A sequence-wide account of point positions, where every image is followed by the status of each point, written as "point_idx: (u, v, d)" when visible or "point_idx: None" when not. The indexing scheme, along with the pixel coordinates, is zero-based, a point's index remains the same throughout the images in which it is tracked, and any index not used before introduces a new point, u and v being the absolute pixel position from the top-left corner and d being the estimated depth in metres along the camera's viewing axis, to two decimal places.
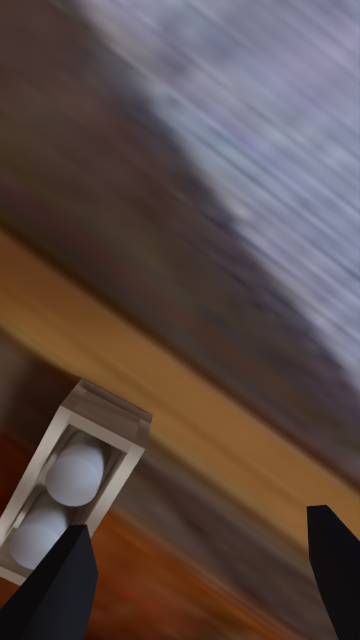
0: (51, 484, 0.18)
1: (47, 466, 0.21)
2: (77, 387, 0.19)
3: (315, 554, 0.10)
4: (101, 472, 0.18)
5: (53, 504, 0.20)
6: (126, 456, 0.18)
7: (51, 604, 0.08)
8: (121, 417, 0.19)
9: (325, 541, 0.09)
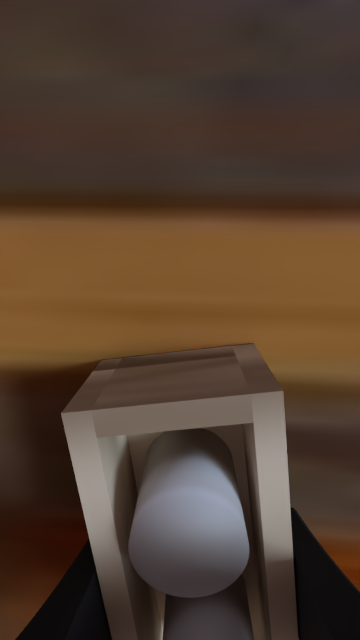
0: (152, 572, 0.08)
1: None
2: (95, 373, 0.10)
3: None
4: (231, 491, 0.08)
5: None
6: (255, 430, 0.08)
7: (91, 601, 0.08)
8: (199, 370, 0.09)
9: None
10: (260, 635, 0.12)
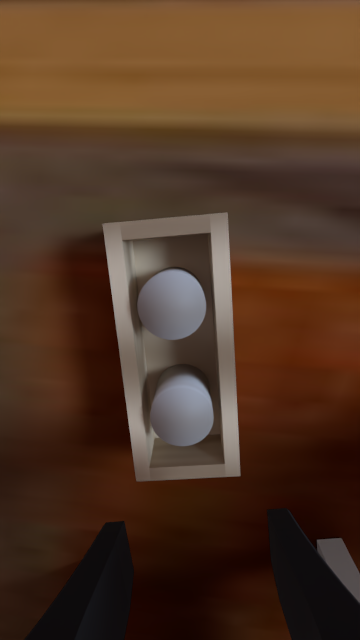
0: (150, 322, 0.14)
1: (145, 344, 0.17)
2: None
3: (274, 557, 0.10)
4: (198, 283, 0.14)
5: (175, 373, 0.16)
6: (212, 237, 0.13)
7: (99, 601, 0.08)
8: None
9: (279, 545, 0.09)
10: (218, 425, 0.18)
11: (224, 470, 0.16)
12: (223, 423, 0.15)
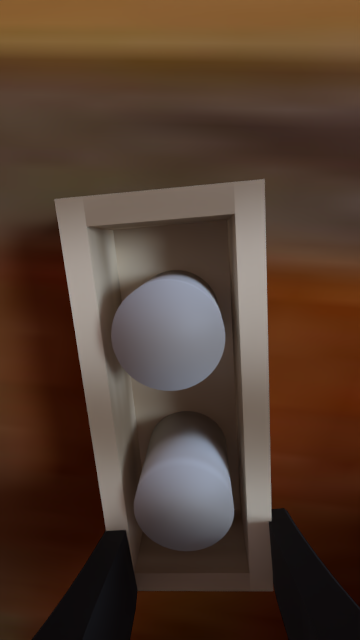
0: (132, 362, 0.08)
1: (134, 382, 0.12)
2: None
3: None
4: (212, 297, 0.09)
5: (176, 429, 0.11)
6: (237, 223, 0.08)
7: (106, 600, 0.08)
8: None
9: (276, 545, 0.09)
10: (238, 498, 0.13)
11: (248, 582, 0.10)
12: (248, 515, 0.10)
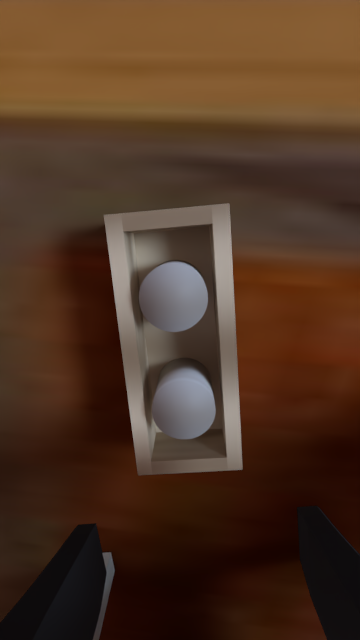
0: (152, 314, 0.14)
1: (147, 338, 0.17)
2: None
3: (305, 555, 0.10)
4: (200, 274, 0.14)
5: (177, 366, 0.16)
6: (214, 229, 0.13)
7: (63, 603, 0.08)
8: None
9: (314, 542, 0.09)
10: (220, 420, 0.18)
11: (226, 464, 0.16)
12: (225, 416, 0.15)
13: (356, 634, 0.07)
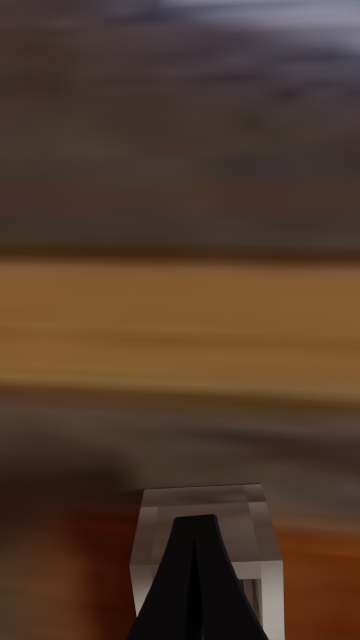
0: None
1: None
2: (143, 510, 0.13)
3: None
4: None
5: None
6: (262, 582, 0.11)
7: (191, 595, 0.08)
8: (222, 521, 0.12)
9: (196, 551, 0.09)
10: None
11: None
12: None
13: None
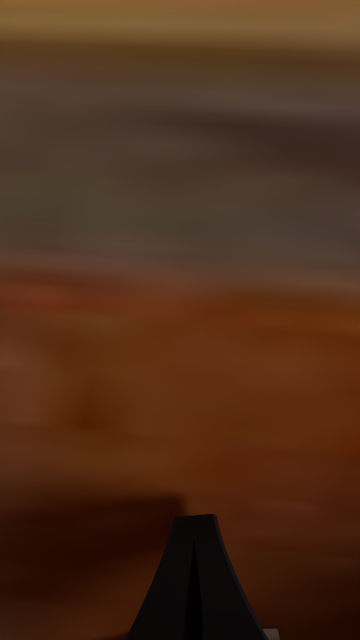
0: None
1: None
2: None
3: None
4: None
5: None
6: None
7: (190, 595, 0.08)
8: None
9: (195, 551, 0.09)
10: None
11: None
12: None
13: None
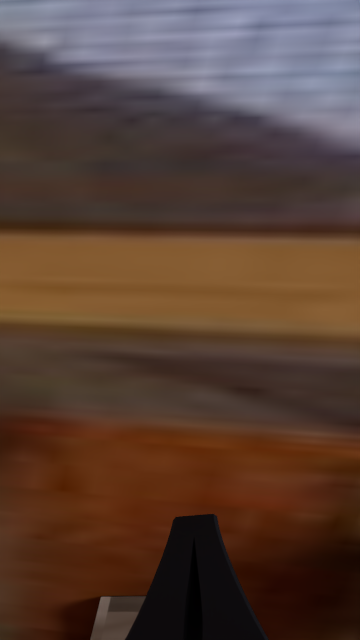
0: None
1: None
2: (98, 615, 0.22)
3: None
4: None
5: None
6: None
7: (190, 595, 0.08)
8: None
9: (195, 551, 0.09)
10: None
11: None
12: None
13: None
